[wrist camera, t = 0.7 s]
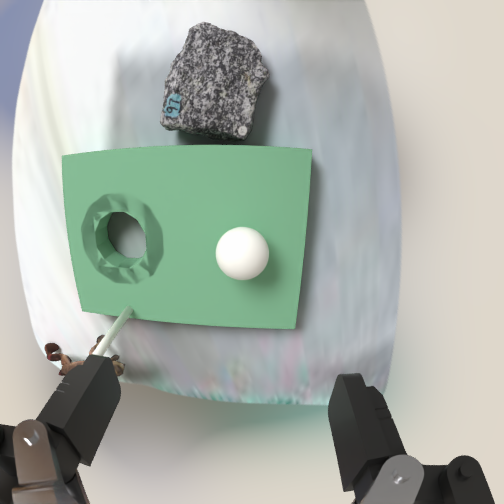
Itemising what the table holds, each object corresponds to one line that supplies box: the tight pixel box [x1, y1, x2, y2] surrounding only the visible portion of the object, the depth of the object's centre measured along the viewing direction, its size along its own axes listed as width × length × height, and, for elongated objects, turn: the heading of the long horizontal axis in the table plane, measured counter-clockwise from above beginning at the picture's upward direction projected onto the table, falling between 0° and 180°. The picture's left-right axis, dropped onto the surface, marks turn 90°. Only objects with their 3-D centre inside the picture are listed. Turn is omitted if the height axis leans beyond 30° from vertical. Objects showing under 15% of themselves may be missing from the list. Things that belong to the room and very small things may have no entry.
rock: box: [160, 22, 269, 141], centre depth 20 cm, size 8×10×4 cm
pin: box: [92, 306, 133, 356], centre depth 21 cm, size 3×1×12 cm, turn 178°
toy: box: [45, 335, 125, 377], centre depth 29 cm, size 6×9×15 cm
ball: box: [216, 227, 269, 280], centre depth 22 cm, size 4×4×4 cm
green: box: [62, 145, 312, 329], centre depth 25 cm, size 16×22×2 cm
